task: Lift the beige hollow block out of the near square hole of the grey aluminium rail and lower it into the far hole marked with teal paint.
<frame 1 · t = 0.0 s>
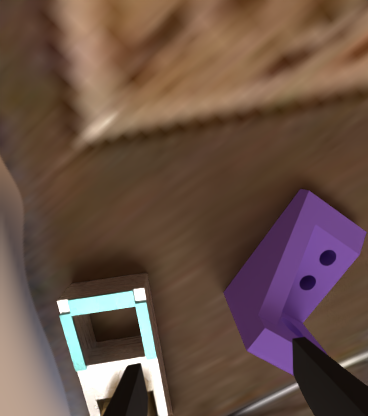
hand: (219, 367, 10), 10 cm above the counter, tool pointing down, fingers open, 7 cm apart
bracket: (285, 258, 21), on the counter
beige hollow block: (134, 388, 22), resting in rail
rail: (126, 353, 21), on the counter
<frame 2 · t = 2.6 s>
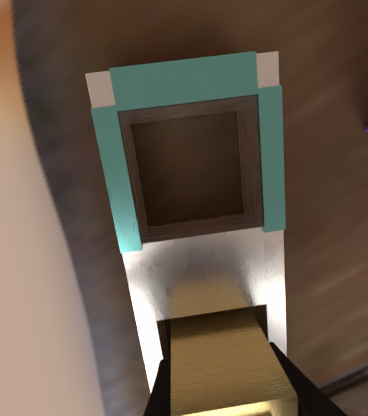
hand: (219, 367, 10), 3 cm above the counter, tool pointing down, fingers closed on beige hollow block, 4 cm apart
beige hollow block: (208, 320, 13), resting in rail, touching gripper
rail: (200, 252, 12), on the counter
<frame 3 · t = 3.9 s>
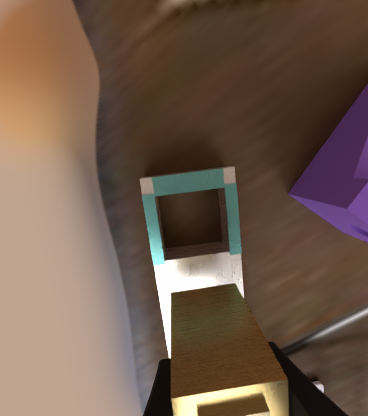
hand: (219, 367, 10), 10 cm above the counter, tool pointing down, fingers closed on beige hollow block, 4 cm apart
bracket: (354, 157, 19), on the counter
beige hollow block: (206, 316, 13), point 6 cm above the counter, touching gripper
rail: (196, 263, 20), on the counter
when the fingers open (3 cm above the counter, at t = 6.3 s): beige hollow block stays where it is, resting in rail.
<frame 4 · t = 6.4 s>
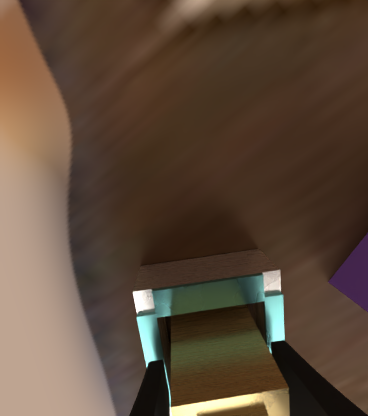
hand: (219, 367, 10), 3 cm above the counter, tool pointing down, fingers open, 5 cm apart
beige hollow block: (207, 319, 13), resting in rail
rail: (214, 374, 14), on the counter
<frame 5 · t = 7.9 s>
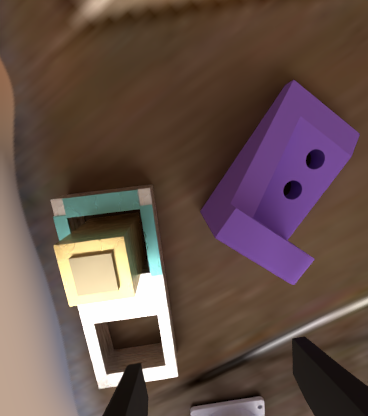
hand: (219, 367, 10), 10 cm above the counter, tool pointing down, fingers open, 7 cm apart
bracket: (269, 173, 19), on the counter
beige hollow block: (119, 237, 18), resting in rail
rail: (127, 281, 19), on the counter
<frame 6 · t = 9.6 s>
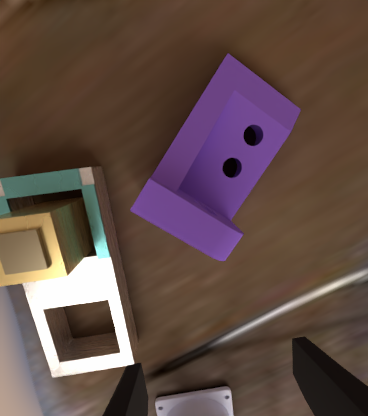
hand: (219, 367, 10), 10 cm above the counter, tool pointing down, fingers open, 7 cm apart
bracket: (215, 154, 18), on the counter
beige hollow block: (71, 221, 18), resting in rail
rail: (82, 267, 19), on the counter
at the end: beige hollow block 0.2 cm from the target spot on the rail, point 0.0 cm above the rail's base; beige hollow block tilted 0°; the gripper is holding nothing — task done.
